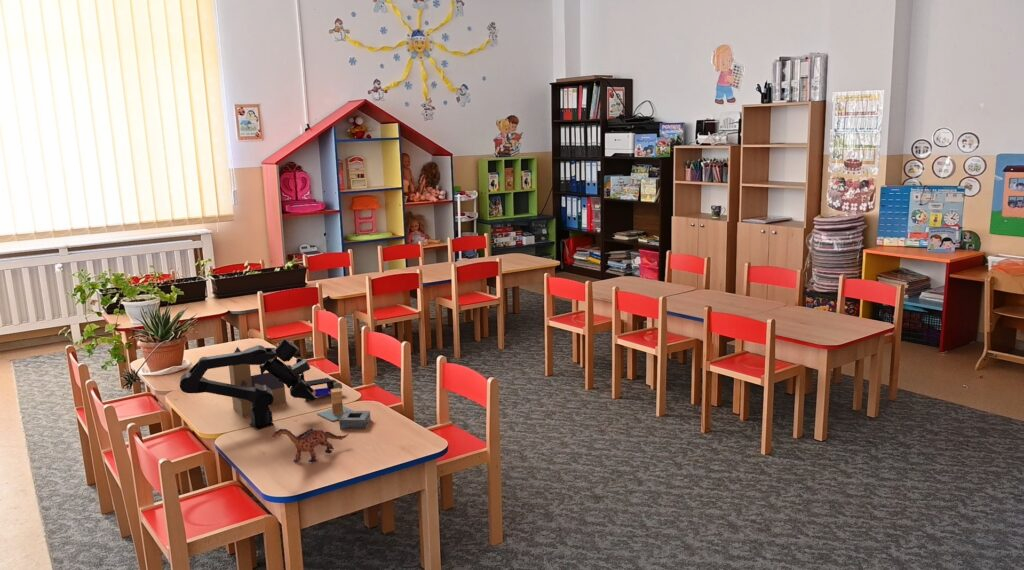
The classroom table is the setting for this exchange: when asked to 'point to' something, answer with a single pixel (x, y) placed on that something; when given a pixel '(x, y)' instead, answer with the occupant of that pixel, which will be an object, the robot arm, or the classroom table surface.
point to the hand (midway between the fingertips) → (314, 395)
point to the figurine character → (324, 391)
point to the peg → (336, 401)
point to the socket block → (355, 420)
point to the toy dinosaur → (309, 441)
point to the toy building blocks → (243, 377)
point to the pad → (329, 414)
